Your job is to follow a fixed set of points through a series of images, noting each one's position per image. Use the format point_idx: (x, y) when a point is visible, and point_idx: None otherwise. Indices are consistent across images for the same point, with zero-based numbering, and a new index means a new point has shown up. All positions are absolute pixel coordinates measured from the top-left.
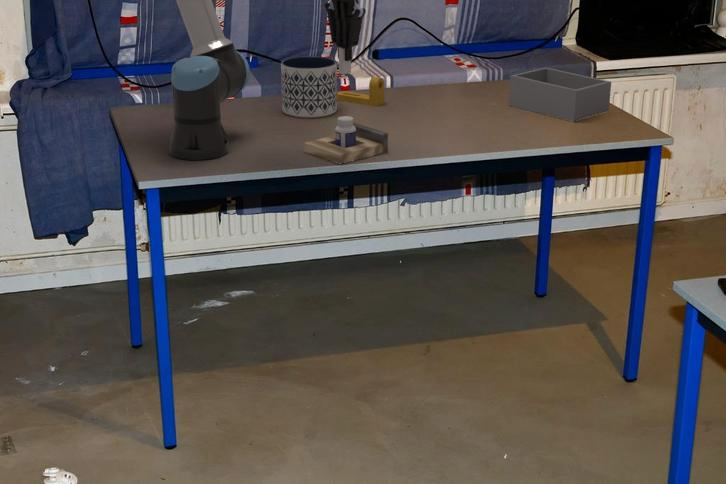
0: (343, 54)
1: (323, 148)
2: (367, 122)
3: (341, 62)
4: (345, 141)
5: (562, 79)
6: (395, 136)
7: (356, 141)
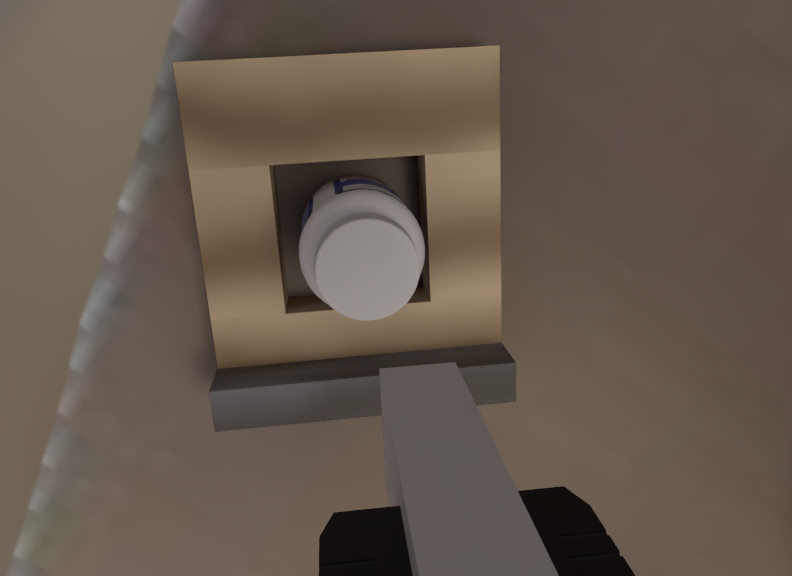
0: (412, 556)
1: (337, 63)
2: (649, 559)
3: (423, 444)
4: (311, 205)
5: None
6: None
7: None
